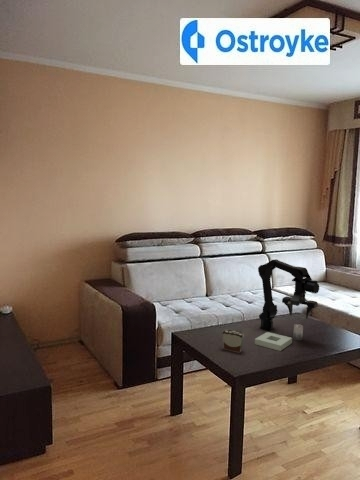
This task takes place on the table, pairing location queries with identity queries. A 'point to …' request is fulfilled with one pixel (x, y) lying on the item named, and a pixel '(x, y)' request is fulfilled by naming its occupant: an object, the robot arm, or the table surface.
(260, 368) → the table surface
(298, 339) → the gray cylinder
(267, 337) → the bore block
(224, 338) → the food container
